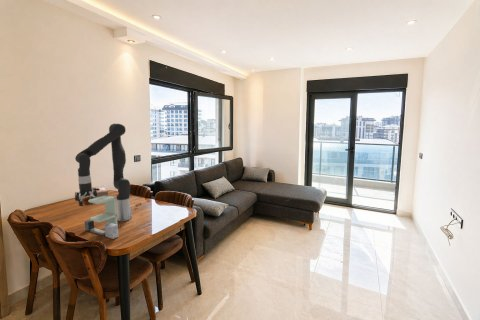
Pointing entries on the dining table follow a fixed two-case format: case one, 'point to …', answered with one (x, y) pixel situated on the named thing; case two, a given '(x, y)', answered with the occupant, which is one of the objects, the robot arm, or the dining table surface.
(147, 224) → the dining table surface
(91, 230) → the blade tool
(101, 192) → the tissue box cover
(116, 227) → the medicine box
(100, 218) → the shelf unit
